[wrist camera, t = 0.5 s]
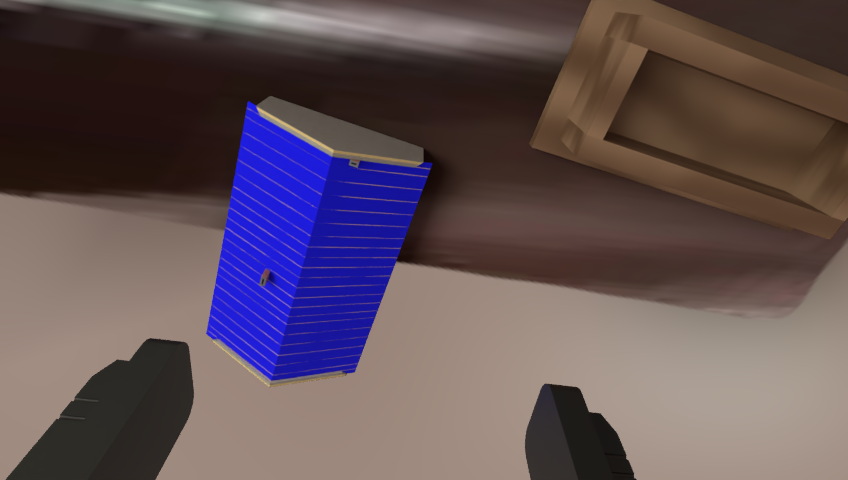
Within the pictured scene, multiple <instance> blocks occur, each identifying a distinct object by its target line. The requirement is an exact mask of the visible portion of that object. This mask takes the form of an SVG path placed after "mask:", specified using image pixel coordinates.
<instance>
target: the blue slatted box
mask: <svg viewBox="0 0 848 480" xmlns="http://www.w3.org/2000/svg"><path fill="white" fill-rule="evenodd" d="M432 164H433V163H427V162H423V148H421V147H418V146H416V145H413V144H410V143H407V142H404V141H401V140H398V139H395V138H392V137H389V136H386V135H383V134H380V133H377V132H375V131H372V130H369V129H366V128H363V127H360V126H357V125H354V124H351V123H348V122H345V121H342V120H339V119H336V118H333V117H331V116H328V115H325V114H322V113H319V112H316V111H313V110H310V109H307V108H304V107H301V106H298V105H295V104H292V103H290V102H287V101H284V100H281V99H278V98H275V97H272V96H270V97H268V98H267V99H265V100H264V101H263V102H261V103H260V104H258V105H257V106H256V105H254V104H252V103H250V102H249V101H248V105H247V111H246V116H245V122H244V127H243V133H242V138H241V144H240V150H239V155H238V161H237V166H236V172H235V177H234V183H233V189H232V194H231V200H230V205H229V211H228V216H227V222H226V228H225V233H224V239H223V244H222V251H221V255H220V261H219V267H218V272H217V278H216V284H215V289H214V295H213V300H212V306H211V311H210V317H209V322H208V328H207V333H206V334H207V335H208V336H210V337H211V338H212V339H213V340H212V342H214V343H215V344H216V345H217V346H219V347H220V348H221V349H223V350H224V351H225V352H226V353H227V354H229V355H230V356H231V357H232V358H234V359H235V360H236V361H237V362H239V363H240V364H241V365H242V366H244V367H245V368H246V369H247V370H249V371H250V372H251V373H252V374H254V375H255V376H256V377H257V378H258V379H260V380H261V381H262V382H263V383H265V384H266V385H267V386H269V387H274V386H281V385H287V384H294V383H300V382H307V381H313V380H320V379H327V378H333V377H340V376H346V374H347V373H353V372H355V370H356V367H357V365H358V362H359V359H360V357H361V354H362V351H363V349H364V346H365V343H366V340H367V338H368V335H369V332H370V330H371V327H372V324H373V321H374V319H375V316H376V314H377V311H378V308H379V305H380V303H381V300H382V298H383V295H384V292H385V289H386V287H387V284H388V282H389V279H390V276H391V273H392V271H393V268H394V265H395V263H396V260H397V257H398V255H399V252H400V249H401V247H402V244H403V241H404V239H405V236H406V233H407V231H408V228H409V225H410V223H411V220H412V217H413V215H414V212H415V209H416V206H417V204H418V201H419V198H420V196H421V193H422V190H423V188H424V185H425V182H426V180H427V177H428V174H429V172H430V169H431V166H432Z"/></svg>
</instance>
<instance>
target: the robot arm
mask: <svg viewBox="0 0 848 480" xmlns="http://www.w3.org/2000/svg"><path fill="white" fill-rule="evenodd" d="M193 398H194V389H193V380H192V371H191V362H190V353H189V347H188V345H187V343H185V342H179V341H170V340H161V339H152V338H150V339H147V340H146V341H145V342H144V343H143V344H142V345H141V347H140V348H139V349H138V350H137V352H136V353H135V354H134V356H133V357H132V358H131V360H130V361H124V360H116V361H115V362H113V363H112V364H110V365H109V366H107V367H106V368H104V369H103V370H101V371H100V372H98V373H97V374H95V375H94V376H92V377H91V378H90V380H89V381H88V382H87V383H86V385H85V386H84V387H83V388H82V389H81V390H80V392H79V393H78V394H77V395H76V396H75V400H74V401H71V402H70V404H69V405H68V406H67V407H66V408H65V409H64V411H63V412H62V413H61V414H60V418H59V419H56V420H55V422H54V423H53V424H52V425H51V426H50V427H49V429H48V430H47V431H46V432H45V433H44V435H43V436H42V437H41V438H40V439H39V440H38V442H37V443H36V444H35V445H34V446H33V448H32V449H31V450H30V451H29V452H28V454H27V455H26V456H25V457H24V458H23V460H22V461H21V462H20V463H19V464H18V466H17V467H16V468H15V469H14V470H13V471H12V473H11V474H10V475H9V476H8V477H7V479H6V480H155V479H156V477H157V476H158V474H159V472H160V470H161V468H162V466H163V464H164V462H165V461H166V459H167V457H168V455H169V453H170V452H171V449H172V448H173V446H174V444H175V442H176V440H177V439H178V437H179V435H180V433H181V431H182V429H183V427H184V426H185V424H186V422H187V420H188V418H189V415H190V412H191V408H192V404H193ZM525 452H526V459H527V464H528V469H529V473H530V478H531V480H636V479H634V473H633V470H632V468H631V465H630V463H629V461H628V460H627V459H626V453H625V451H624V448H623V446H622V444H621V441H620V439H619V437H618V434H617V433H616V431H615V430H614V429H613V428H612V427H611V426H610V424H609V423H608V422H607V421H606V420H605V418H604V417H603V416H602V415H601V414H599V413H591V412H589V411H588V408H587V406H586V403H585V400H584V398H583V395H582V393H581V391H580V389H579V388H577V387H571V386H562V385H552V384H544V385H543V386H542V388H541V390H540V394H539V396H538V399H537V402H536V405H535V407H534V410H533V413H532V416H531V419H530V422H529V424H528V427H527V431H526V439H525Z"/></svg>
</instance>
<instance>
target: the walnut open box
mask: <svg viewBox="0 0 848 480" xmlns="http://www.w3.org/2000/svg"><path fill="white" fill-rule="evenodd" d="M529 144H530V146H531V147H532V148H535V149H538V150H542V151H545V152H548V153H551V154H554V155H557V156H560V157H563V158H566V159H569V160H572V161H575V162H578V163H581V164H584V165H588V166H591V167H594V168H597V169H600V170H603V171H606V172H609V173H612V174H615V175H618V176H621V177H624V178H627V179H630V180H634V181H637V182H640V183H643V184H646V185H649V186H652V187H655V188H658V189H661V190H664V191H667V192H670V193H673V194H677V195H680V196H683V197H686V198H689V199H692V200H695V201H698V202H701V203H704V204H707V205H710V206H713V207H716V208H719V209H723V210H726V211H729V212H732V213H735V214H738V215H741V216H744V217H747V218H750V219H753V220H756V221H759V222H762V223H766V224H769V225H772V226H775V227H778V228H781V229H784V230H787V231H790V232H791V231H792V229H793V228H795V229H798V230H801V231H804V232H807V233H810V234H813V235H817V236H820V237H823V238H826V239H829V240H830V239H831V238H832V236H833V235H834V234H835V233H836V231H837V230H838V229H839V228H840V226H841V225H842V224H843V223H844V221H845V220H846V219H847V218H848V76H846V75H843V74H841V73H838V72H835V71H833V70H830V69H828V68H825V67H822V66H820V65H817V64H815V63H812V62H810V61H807V60H804V59H802V58H799V57H797V56H794V55H791V54H789V53H786V52H784V51H781V50H779V49H776V48H773V47H771V46H768V45H766V44H763V43H761V42H758V41H755V40H753V39H750V38H748V37H745V36H742V35H740V34H737V33H735V32H732V31H730V30H727V29H724V28H722V27H719V26H717V25H714V24H711V23H709V22H706V21H704V20H701V19H699V18H696V17H693V16H691V15H688V14H686V13H683V12H680V11H678V10H675V9H673V8H670V7H668V6H665V5H662V4H660V3H657V2H655V1H652V0H591V2H590V4H589V6H588V9H587V11H586V13H585V16H584V18H583V20H582V23H581V25H580V27H579V30H578V32H577V34H576V36H575V39H574V41H573V43H572V46H571V48H570V50H569V53H568V55H567V57H566V60H565V62H564V64H563V67H562V69H561V71H560V73H559V76H558V78H557V80H556V83H555V85H554V87H553V90H552V92H551V94H550V97H549V99H548V101H547V104H546V106H545V108H544V110H543V113H542V115H541V117H540V120H539V122H538V124H537V127H536V129H535V131H534V134H533V136H532V138H531V141H530V143H529Z"/></svg>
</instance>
